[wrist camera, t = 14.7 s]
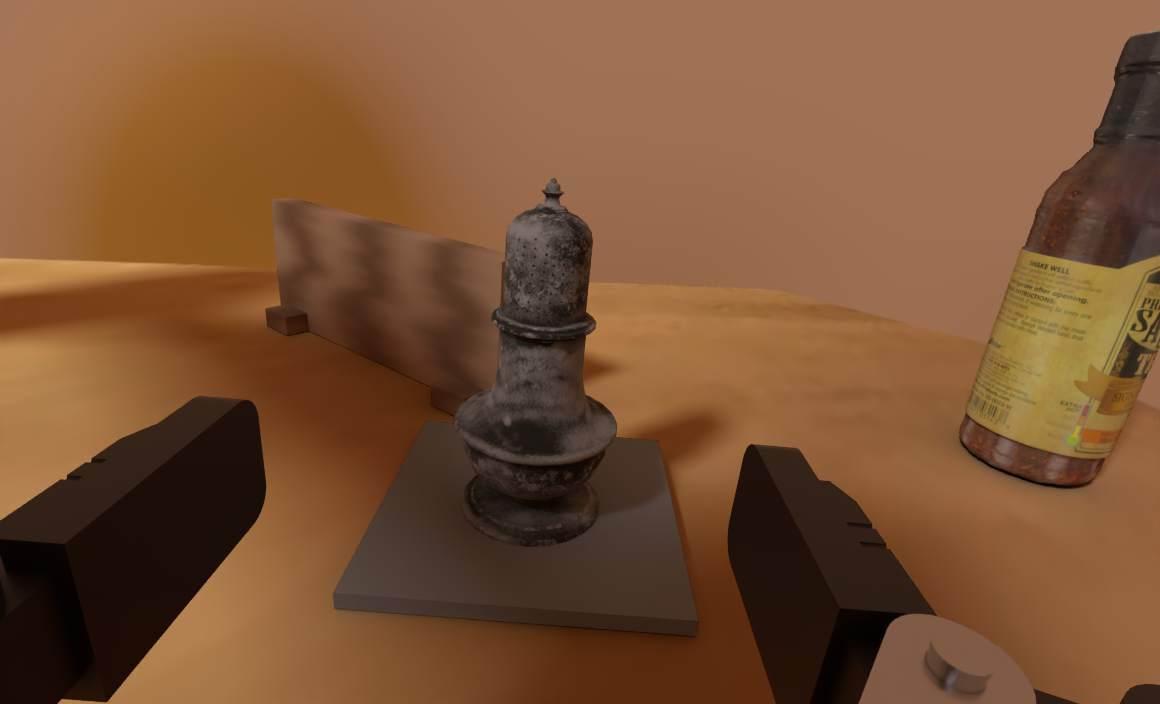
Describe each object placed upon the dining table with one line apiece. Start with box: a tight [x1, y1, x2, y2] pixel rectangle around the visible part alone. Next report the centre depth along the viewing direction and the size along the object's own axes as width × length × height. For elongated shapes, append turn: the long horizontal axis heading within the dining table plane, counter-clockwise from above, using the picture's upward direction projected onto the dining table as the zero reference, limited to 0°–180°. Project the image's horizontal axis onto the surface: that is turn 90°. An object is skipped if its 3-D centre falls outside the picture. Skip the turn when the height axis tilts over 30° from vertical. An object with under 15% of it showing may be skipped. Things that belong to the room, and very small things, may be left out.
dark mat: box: [333, 421, 699, 636], centre depth 23 cm, size 11×11×1 cm
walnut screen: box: [266, 198, 505, 416], centre depth 35 cm, size 20×4×8 cm, turn 54°
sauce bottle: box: [959, 30, 1160, 486], centre depth 28 cm, size 6×6×20 cm
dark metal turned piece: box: [455, 179, 617, 547], centre depth 21 cm, size 6×6×12 cm
